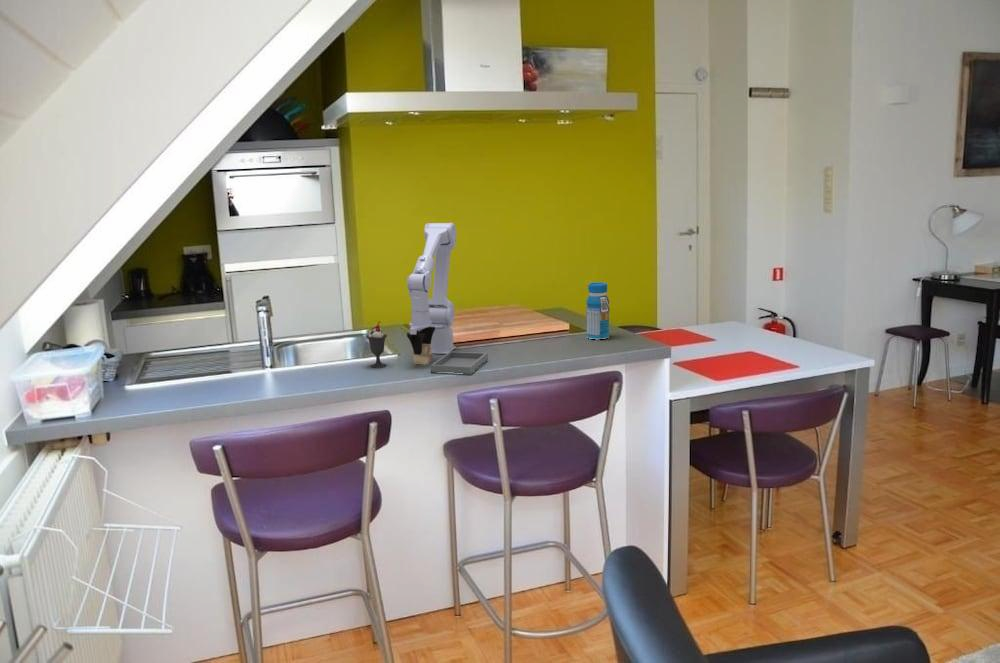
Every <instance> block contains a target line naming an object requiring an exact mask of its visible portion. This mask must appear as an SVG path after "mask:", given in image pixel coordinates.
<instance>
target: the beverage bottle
mask: <svg viewBox="0 0 1000 663" xmlns="http://www.w3.org/2000/svg"><path fill="white" fill-rule="evenodd" d="M587 287H588V289H587V291H588V293H589V295H588V296H587V298H586V301H585V302H586V307H585V313H586V320H585V321H586V338H587V339H588V338H589V339H588V340H590V339H606V338H608V339H609V338H610V311H611V310H610V307H609V304H610V300H609V297H608V296H607V293H608V283H606V282H601V281H600V282H597V281H596V282H594V281H593V282H589V283H588V286H587ZM606 340H607V339H606Z"/></svg>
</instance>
